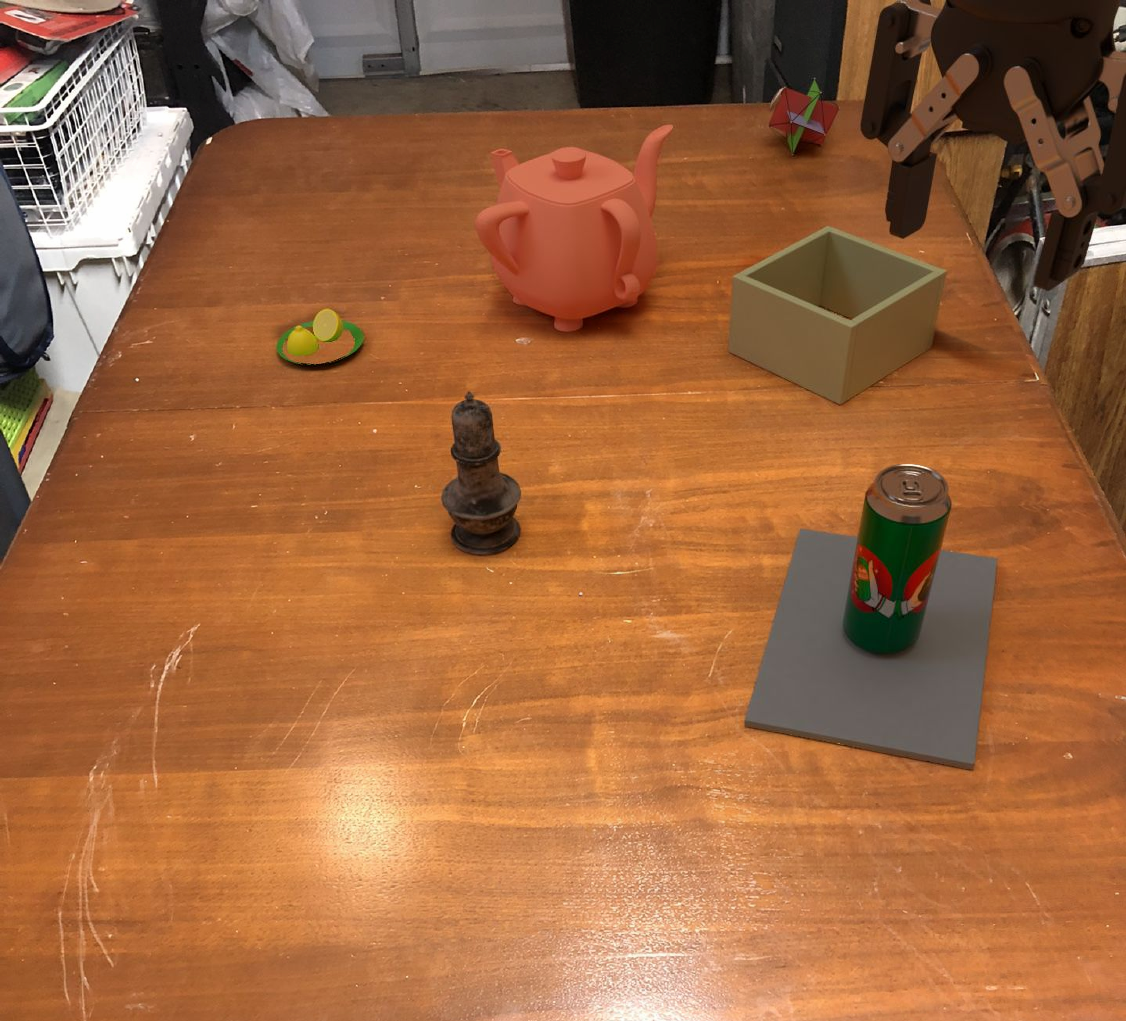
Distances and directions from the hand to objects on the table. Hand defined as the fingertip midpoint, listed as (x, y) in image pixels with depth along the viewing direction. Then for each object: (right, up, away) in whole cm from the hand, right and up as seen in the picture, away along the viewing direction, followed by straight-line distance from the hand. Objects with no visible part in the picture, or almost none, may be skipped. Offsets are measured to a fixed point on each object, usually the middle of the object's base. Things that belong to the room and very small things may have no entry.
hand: (975, 256), depth 59 cm
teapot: (-20, +19, +53) cm, 60 cm away
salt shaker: (-27, -9, +29) cm, 41 cm away
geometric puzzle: (+6, +43, +73) cm, 85 cm away
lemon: (-43, +12, +49) cm, 66 cm away
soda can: (0, -17, +19) cm, 26 cm away
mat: (0, -18, +19) cm, 26 cm away
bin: (+3, +10, +44) cm, 45 cm away
